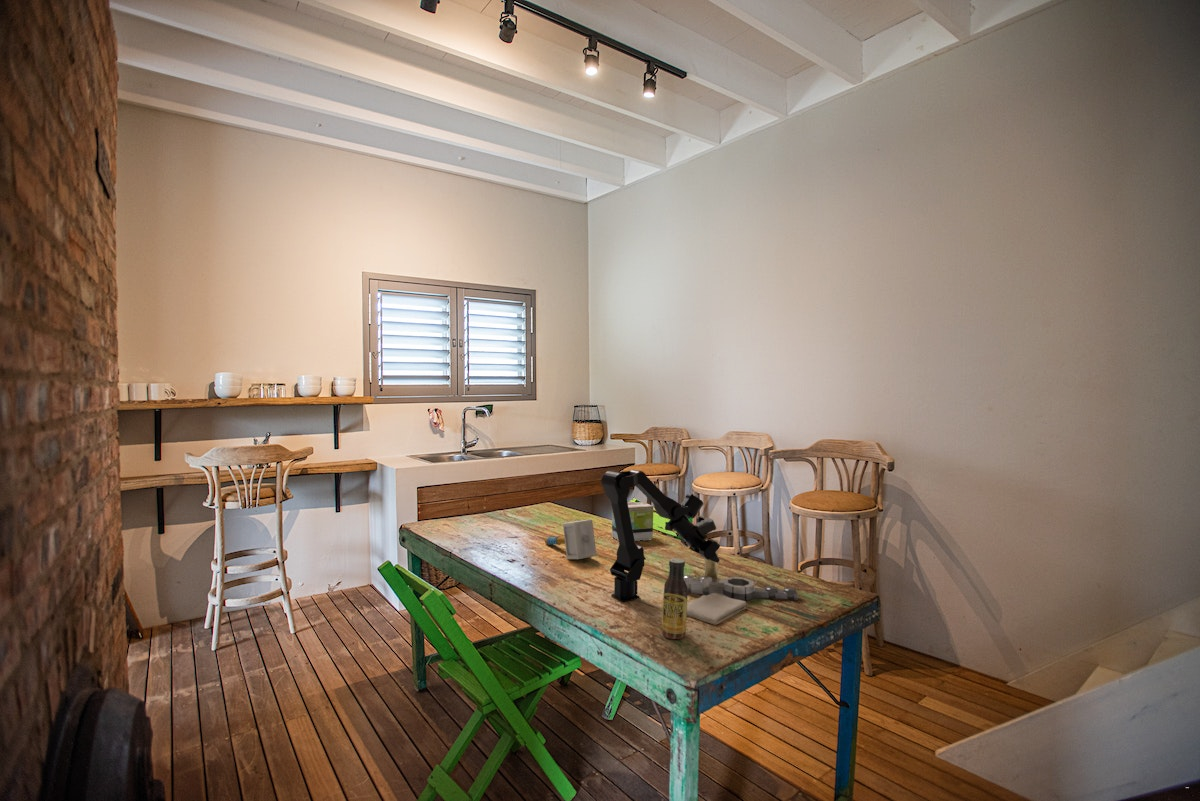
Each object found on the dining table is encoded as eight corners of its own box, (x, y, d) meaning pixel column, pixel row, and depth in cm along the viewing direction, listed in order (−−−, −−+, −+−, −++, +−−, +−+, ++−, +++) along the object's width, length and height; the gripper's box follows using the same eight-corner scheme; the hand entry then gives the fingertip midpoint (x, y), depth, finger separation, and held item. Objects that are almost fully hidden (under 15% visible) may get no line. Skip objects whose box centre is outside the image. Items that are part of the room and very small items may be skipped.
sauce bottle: (659, 638, 151) (659, 562, 150) (665, 629, 157) (665, 555, 156) (684, 642, 148) (684, 564, 148) (689, 632, 154) (690, 558, 154)
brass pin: (711, 582, 193) (711, 543, 193) (701, 578, 197) (702, 540, 197) (720, 579, 196) (721, 541, 196) (711, 576, 200) (711, 538, 199)
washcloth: (748, 609, 172) (748, 598, 172) (716, 628, 159) (716, 616, 158) (713, 599, 180) (713, 589, 180) (680, 616, 167) (680, 605, 166)
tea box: (620, 543, 241) (620, 507, 240) (611, 537, 250) (611, 503, 250) (653, 540, 246) (653, 505, 246) (643, 534, 256) (643, 500, 255)
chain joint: (681, 596, 181) (681, 580, 181) (682, 586, 190) (682, 571, 190) (799, 604, 175) (799, 588, 174) (794, 593, 184) (794, 578, 184)
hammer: (540, 559, 236) (579, 559, 212) (536, 525, 238) (574, 522, 214) (558, 556, 241) (598, 555, 217) (554, 523, 243) (593, 519, 219)
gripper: (714, 517, 186) (745, 549, 189) (689, 505, 204) (717, 534, 207) (691, 543, 184) (722, 575, 187) (668, 529, 202) (696, 558, 205)
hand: (715, 559), depth 197 cm, fingers closed on brass pin, 4 cm apart
